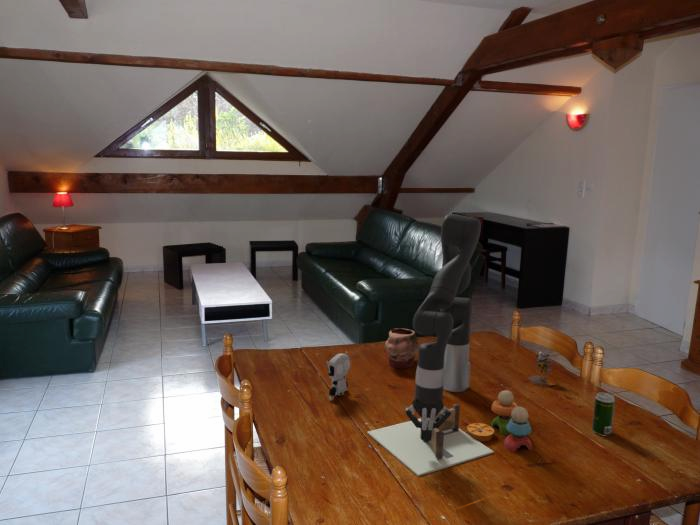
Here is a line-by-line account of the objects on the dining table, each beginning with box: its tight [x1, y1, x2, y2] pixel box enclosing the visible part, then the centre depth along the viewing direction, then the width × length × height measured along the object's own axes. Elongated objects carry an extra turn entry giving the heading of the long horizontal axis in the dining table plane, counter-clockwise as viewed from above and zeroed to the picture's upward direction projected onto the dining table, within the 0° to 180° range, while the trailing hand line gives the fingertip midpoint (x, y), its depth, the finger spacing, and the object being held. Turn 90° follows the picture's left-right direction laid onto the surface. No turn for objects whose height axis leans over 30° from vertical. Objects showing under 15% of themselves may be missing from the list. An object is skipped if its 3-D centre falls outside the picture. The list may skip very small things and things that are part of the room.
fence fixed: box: [420, 403, 461, 439], centre depth 167 cm, size 14×2×8 cm, turn 119°
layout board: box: [366, 417, 494, 477], centre depth 164 cm, size 26×26×1 cm
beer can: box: [591, 392, 616, 436], centre depth 170 cm, size 5×5×12 cm
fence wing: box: [426, 418, 444, 459], centre depth 158 cm, size 11×2×7 cm, turn 13°
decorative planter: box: [384, 328, 419, 369], centre depth 225 cm, size 20×12×14 cm, turn 153°
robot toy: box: [326, 350, 351, 401], centre depth 193 cm, size 12×4×15 cm, turn 149°
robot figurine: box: [527, 351, 553, 387], centre depth 208 cm, size 11×9×12 cm
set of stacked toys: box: [466, 390, 533, 453], centre depth 166 cm, size 18×17×12 cm
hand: (425, 441), depth 155 cm, fingers closed
